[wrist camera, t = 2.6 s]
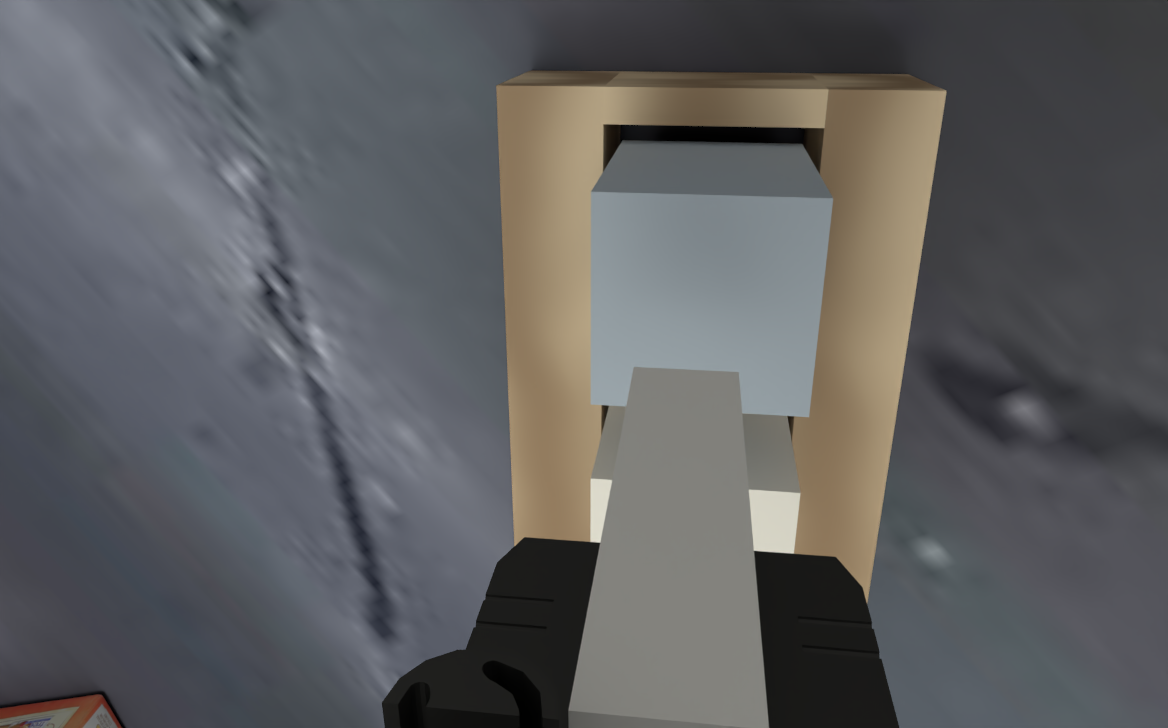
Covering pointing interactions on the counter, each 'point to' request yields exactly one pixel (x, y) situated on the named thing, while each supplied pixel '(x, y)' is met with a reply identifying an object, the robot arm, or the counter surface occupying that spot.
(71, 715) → the cracker box
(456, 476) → the counter surface
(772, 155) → the slate key
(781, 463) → the ivory key
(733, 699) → the robot arm
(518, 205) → the light brown rectangular frame
